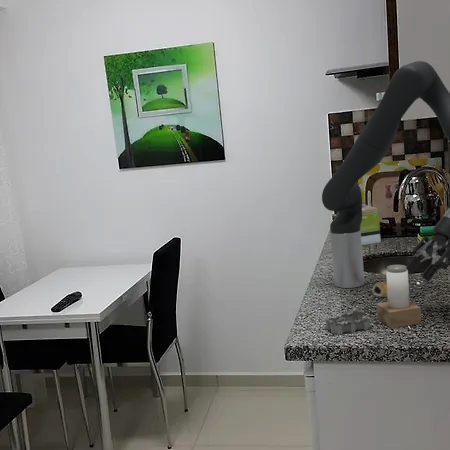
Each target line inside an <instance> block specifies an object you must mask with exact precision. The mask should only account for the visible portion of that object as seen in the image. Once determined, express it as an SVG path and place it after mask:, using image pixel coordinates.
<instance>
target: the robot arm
mask: <svg viewBox="0 0 450 450" xmlns="http://www.w3.org/2000/svg"><path fill="white" fill-rule="evenodd" d="M419 99H421V100H422V101H423V102H424V104H427V106H429V108H430V109H431V110H432V112H433V113H434V114H435V116H436V118H437V120H438V122H439V125H440V127H441V129H442V131H443V133H444V135H445V137H446V138H447V140H448V141H449V142H450V91H449V90H448V88H447V87H446V85H445V84H444V82H443V81H442V78H441V77H440V76H439V74H438V73H437V71H436V70H435V68H434V67H433V66H432V65H431V64H430V63H428V62H427V61H424V60H423V61H422V60H416V61H414V62H410V63H407V64H404V65H402V66H401V67H399V68H398V69H397V70H396V71H395V72H394V74H393V75H392V77H391V79H390V81H389V83H388V85H387V86H386V89H385V92H384V94H383V96H382V97H381V99H380V102H379V104H378V105H377V107H376V109H375V110H374V112H372V114H371V116H370V118H369V119H368V121H367V122H366V124H365V126H364V127H363V129H362V130H361V131H360V133H359V135H358V137H357V138H356V140H355V142H354V143H353V145H352V147H351V149H350V150H349V152H348V153H347V155H346V157H344V159H343V161H342V163H341V165H340V166H339V168H338V169H337V170H336V171H335V173H334V174H333V175H332V177H330V178H329V181H328V182H326V184H325V186H324V187H323V189H322V193H321V201H322V204H323V206H324V208H326V209H325V210H328V211H331V212H338V215H337V216H336V218H335V219H333V220H332V221H331V222H330V225H329V230H330V241H331V242H330V243H331V253H332V266H333V268H332V269H333V280H334V281H333V282H334V286H335V287H337V288H341V289H352V288H353V289H354V288H359V287H362V286H364V285H365V275H364V274H365V273H364V272H365V271H364V259H363V245H362V242H361V229H360V225H361V222H362V204H363V196H362V195H363V193H362V190H361V186H360V184H359V183H358V181H359V180H360V179H361V178H363V177H364V176H365V175H366V174H367V173H369V172H371V171H372V170H373V169H374V168H375V167H376V166H377V165H379V163H380V162H381V161H382V160H383V159H384V157H385V156H386V155H387V153H388V151H390V148H391V147H392V145H393V144H394V141H395V140H396V137H397V133H398V128H399V125H400V122H401V120H402V118H403V117H404V116H405V114H406V112H407V111H409V108H411V106H413V104H414V103H415V101H417V100H419ZM432 233H433V234H434V235H433V236H432V237H431V238H429V237H428V236H427V235H425V236H424V237H423V238H422V239H421V240H420V241H419V242H418V244H417V245H416V246H415V247H414V249H412V251H411V255H412V257H413V258H412V259H411V260H410V262H409V263H408V264H407V265H406V269H407V270H408V274H414V273H415V272H416V270H417V269H418V268H419V266H420V265H421V264H422V262H424V261H426V260H430V259H431V263H429V265H428V266H427V268H426V269H425V270H424V271H423V272H422V274H421V278H422V279H424V280H425V281H427V282H430V281H431V279H433V277H434V275H435V274H436V273H437V272H438V271H440V270H442V269H443V270H447V268H448V267H449V266H450V207H449V208H448V209H447V210H446V212H445V213H444V214H443V215H442V217H441V218H440V219H439V220H438V222H437V223H436V224H435V225H434V226H433V228H432Z"/></svg>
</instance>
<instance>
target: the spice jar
mask: <svg viewBox="0 0 450 450" xmlns="http://www.w3.org/2000/svg"><path fill="white" fill-rule="evenodd" d="M406 267H407V265H404V264H391V265H387V267H386V270H385V275H386V282H387V296H388V297H387V302H388V307H390V308H396V309H401V308H407V307H409V306H410V305H409V301H410V290H409V289H410V288H409V272H408V270H407V269H406Z"/></svg>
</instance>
